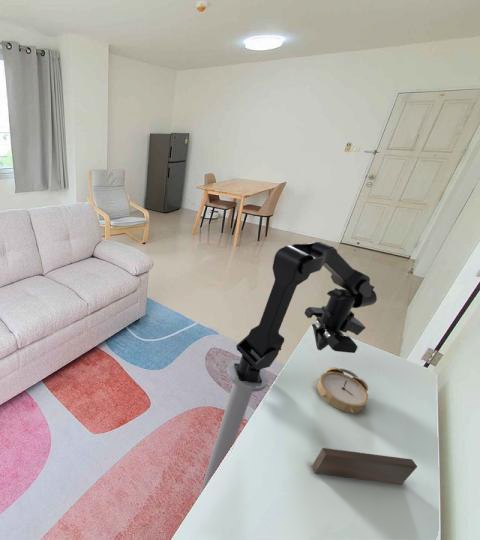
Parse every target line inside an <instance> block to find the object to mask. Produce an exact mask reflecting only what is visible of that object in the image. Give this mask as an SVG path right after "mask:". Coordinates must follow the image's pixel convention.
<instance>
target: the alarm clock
mask: <svg viewBox="0 0 480 540" xmlns="http://www.w3.org/2000/svg"><path fill="white" fill-rule="evenodd" d="M345 373H346V374H345ZM347 374H348V375H347ZM351 376H352V377H351ZM316 388H317V392H318V394H319V395H320V397H321V398H322V399H323V401H325V403H327V404H329V405H330V406H332V407H333V408H334V409H337V410H339V411H342V412H345V413H350V414H351V413H352V414H356V413H360V412H361V411H362V410H363V409H364V408H365V406H366V404H367V403H368V402H369V401H370V400H369V399H370V398H369V394H368V390H369V386H368V384H367V382H366V381H365V380H364V379H362V378H361V377H359V376H358V375H357V374H356V373H354V372H352V371H351V370H348V369H345V368H339V367H336V366H332V367H328V368H327V369H326V370H325V372H324V373H323V374H321V376H320V378H319V381H318V382H317V386H316Z"/></svg>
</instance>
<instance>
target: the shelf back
mask: <svg viewBox="0 0 480 540" xmlns="http://www.w3.org/2000/svg"><path fill="white" fill-rule="evenodd" d="M311 468H312V470H313V472H314V474H318V475H326V476H331V477H332V476H334V477H341V478H347V479H348V478H349V479H354V480H355V479H356V480H363V481H369V482H379V483H385V484H393V485H400V486H401V485H403V484H404V483H405V482H406V481H407V480H408V478H409V477H410V476H411V475H412V473H414V471H415V470H416V469H417V468H418V465H417V464H416V463H415V461H414V460H413V459H412V458H407V457H406V458H405V457H397V456H389V455H383V454H382V455H381V454H374V453H365V452H357V451H350V450H342V449H333V448H328V447H327V448H326V447H322V448H321V450H320V451H319V453H318V454H317V457H316V459H315V460H314V462H313V463H312V465H311Z"/></svg>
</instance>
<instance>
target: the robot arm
mask: <svg viewBox="0 0 480 540" xmlns="http://www.w3.org/2000/svg"><path fill="white" fill-rule="evenodd" d="M323 267H324V268H325V269H326V270H327V271H328V272H329V273H330V274H331V275H330V279H331V280H332V282H333V284H334V285H336V286H339V287H340V288H334V289H331V290H328V292H327V293H326V295H328V296H329V298H328V301H327V303H326V305H322V306H321V307H315V306H309V307H307V308H305V310H304V315H305V317H306V318H308V319H311V318H312V317H313V316H315V317H316V319H315V320H314V321H315V323H311V327H312V330H313V335H314V340H315V345H316V349H317V350H318V351H323V350H324V349H325V348H326V347H328V346H329V348H330V349H331V350H332V351H334V352H339V353H348V354H350V353H351V354H356V352H357V350H358V348H359V346H358V344H356V342H355V341H354V340H353V339H352V338H351V336H350V335H344V333H347V332H350V333H353V334H354V335H355V336H359V335H360V334H361V333H362V332H363V331H364V330H366V328H367V327H366V326H365V325H364V324H363V323H362V322H361V321H360V320H359V319H357V318H356V317H355V313H354V312H352V309H359V308H364V307H368V306H372V305H374V304H375V303H376V302H377V301H378V299H377V293H376V292H375V290H374V289H375V286H374V285H373V284H371V282H370V281H371V277H370V276H369V275H367V274H366V273H365V274H364V273H363V272H361V271H359V270H357V269H355V268H353V267H352V266H351V265H350V263H348V262H347V260H345V258H344V257H342V255H341V254H340V253H339V252H338V250H337V248H335V246H332V245H330V244H327V243H326V242H322V241H317V240H316V241H312V242H309V243H308V242H307V243H293V244H290V245H285V246H283V247H281V248H279V249H278V250H277V251H276V252H275V255H274V256H273V262H272V272H273V276H274V282H273V284H272V287H271V290H270V293H269V296H268V299H267V302H266V304H265V307H264V309H263V313H262V315H261V318H260V320H259V324H258V325H256V326H255V327H253V328H251V329H250V331H249V333H248V334H247V335H246V336H245V337H244V338H243V339H241V340H240V341H239V342H238V343H237V344H236V345H235V346H236V350H237V351H238V352H239V353H240V355H241V357H240V359H239V360H240V363H239V364H238V363H235V364H234V366H235V369H236V372H237V376H238V379H239V380H240V381H247V382H256V383H262V379H261V377H260V374H259V373H260V370H261V369H263V370H264V369H267V368H270V367H271V365H272V364H273V363H274V361H275V360H276V359H277V357H278V356H279V353H280V351H281V350H282V346H283V344H284V342H285V337H284V336H283V335H282V334H280V329H281V326H282V324H283V323H284V319H285V317H286V314H287V311H288V309H289V307H290V305H291V301H292V299H293V296H294V295H295V291H296V289H297V287H298V285H301V284H302V283H303V282H305V281H307V280H308V279H309V277H310V275H311V274H313V273H316V272H320V271H321V270H322V268H323Z"/></svg>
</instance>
